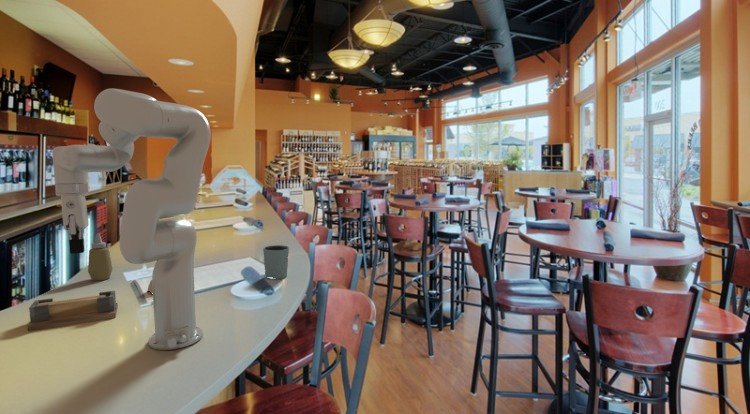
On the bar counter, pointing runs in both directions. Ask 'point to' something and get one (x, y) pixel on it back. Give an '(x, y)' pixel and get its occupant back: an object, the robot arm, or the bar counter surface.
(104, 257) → the squeeze bottle
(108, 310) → the cradle board
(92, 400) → the bar counter surface
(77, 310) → the oak slat
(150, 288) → the decorative ornament
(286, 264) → the grey green cup
